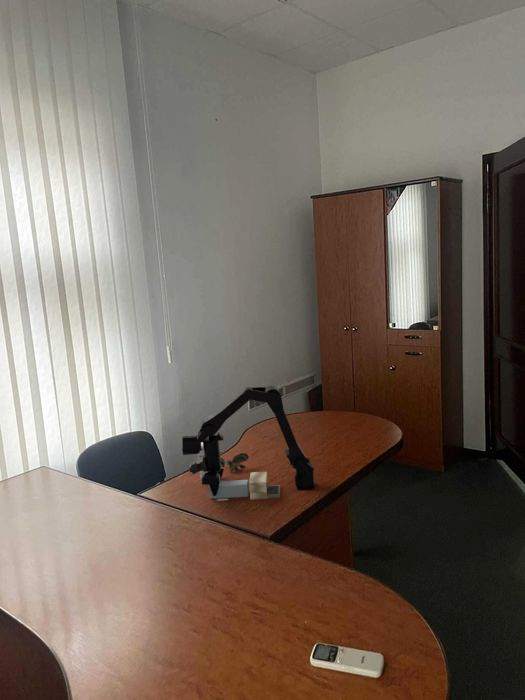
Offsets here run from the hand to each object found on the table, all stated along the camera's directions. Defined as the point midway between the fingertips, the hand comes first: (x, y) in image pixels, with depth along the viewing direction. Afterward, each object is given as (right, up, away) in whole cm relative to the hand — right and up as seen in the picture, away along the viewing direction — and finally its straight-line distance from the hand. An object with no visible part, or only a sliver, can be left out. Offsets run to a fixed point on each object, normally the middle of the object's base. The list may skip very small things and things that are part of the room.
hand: (215, 492), depth 201 cm
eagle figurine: (+7, +3, +24) cm, 25 cm away
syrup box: (-4, +1, +16) cm, 17 cm away
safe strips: (+3, -1, 0) cm, 3 cm away
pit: (+21, 0, -1) cm, 21 cm away
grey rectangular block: (+5, -1, 0) cm, 5 cm away
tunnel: (+16, 0, -1) cm, 16 cm away
